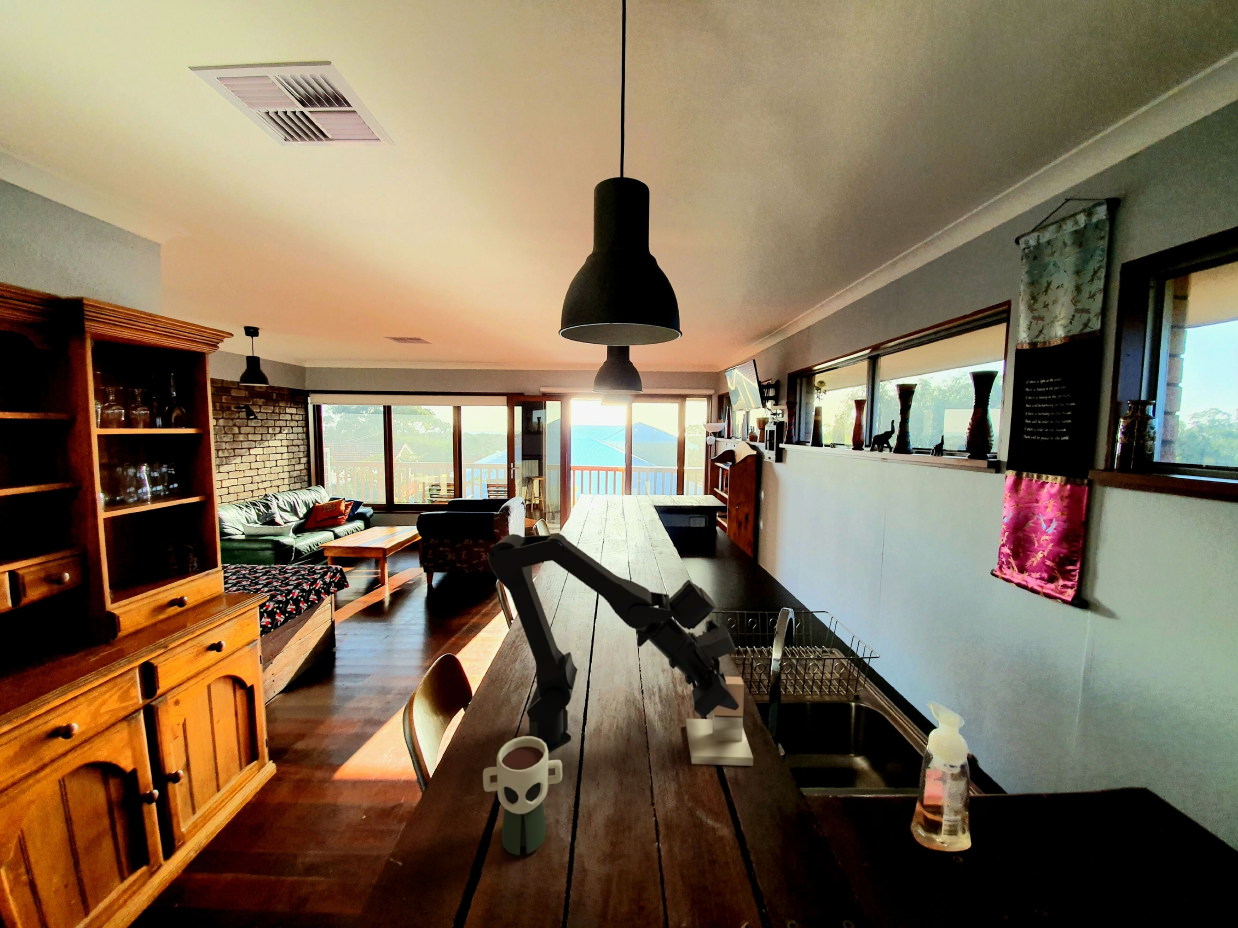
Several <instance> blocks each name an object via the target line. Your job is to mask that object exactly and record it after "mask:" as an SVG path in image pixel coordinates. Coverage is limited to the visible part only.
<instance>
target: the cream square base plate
mask: <svg viewBox="0 0 1238 928" xmlns="http://www.w3.org/2000/svg"><path fill="white" fill-rule="evenodd" d="M743 719H744V715H743V716H723V715H715V713H714V710H713V711H712V718H711V719H710V718H709V719H707V718H685V727H686V728H685V729H686V735H687V740H688V747H689V748H688V749H689V752H690V753H689V754H690V760H691V765H693V764H694V765H717V766H718V765H719V766H720V765H721V766H722V765H723V766H749V767H750V766H751V767H752V766H754V756H753V754H752V750H751V747H750V745H749V742H748V739H747V735H746V733H745V729H744V725H743V723H744V721H743Z"/></svg>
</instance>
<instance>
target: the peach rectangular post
mask: <svg viewBox="0 0 1238 928" xmlns="http://www.w3.org/2000/svg"><path fill="white" fill-rule="evenodd" d="M725 679H726V684H727V687H728V690H729V692H730V694H731V695H732V696H733V698H734V699H735V700H736V702H737V703H738V705H739V708H738V709H737V710H732V709H728V708H725V707H722V706H717V707H716V708H715V709H714V713H715V715H723V716H743V717H744V700H745V699H744V697H745V695H744V693H745V688H744V687H745V684H744V682H743V678H742V677H741V676H725Z"/></svg>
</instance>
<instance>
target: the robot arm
mask: <svg viewBox="0 0 1238 928" xmlns="http://www.w3.org/2000/svg"><path fill="white" fill-rule="evenodd" d="M487 560H488V564H489V566H490V568H491V570H492V572H493V573H494V575H495V576H496V579H497V580H498V581H499V583H500V584H502V585H503V586H504V587H505V588H506V589H507V591H508V593H510V597H511V599H512V602H513V605H514V607H515V610H516V613H517V616H518V619H519V621H520V624H521V626H522V629H523V632H524V634H525V635H524V636H525V638H526V640H527V642H528V646H529V648H530V650H531V653H532V657H533V659H534V662H535V679H536V680H535V681H536V687H535V689H534V692H533V695H532V696H531V700H530V702H529V704H528V707H527V710H526V714H527V718H528V726H529V727H528V732H527V733H526V734H524V736H533V737H536V738H539V739H541V740H542V741H543V742H544V743H546V745H547V749H548V754H549V753H551V752H553V751H555V750H556V749H558V748H559V747H561V746H563V745H565V744H567V743H568V742H570V741H571V740H572V735H571V734H569V733H568V731H569V715H568V714H569V713H568V709H567V706H568V705H569V703H570V702H571V699H572V694H573V691H574V687H575V683H576V677H577V673H578V668H577V666H576V665H575V664H574V661H573V655H572V653H571V651H569V652H566V653H563V652H562V651H561V650H560V649H559V648H558V646H557V643H556V640H555V638H554V634H553V632H552V629H551V627H550V624H549V621H548V618H547V616H546V613H545V611H544V608H543V604H542V601H541V599H540V596H539V593H538V591H537V588H536V586H535V583H534V579H533V566H535V565H537V564H541V563H545V562H550V561H551V562H552V561H553V562H554V563H555V564H557V565H558V566H560V567H561V568H562V569H564V570H565V571H566V572H567V573H569V574H570V575H572V576H573V577H574V578H576V579H577V580H578V581H580V582H582V583H583V584H584V585H585V586H587V587H588V588H590V589H591V590H592V591H594V592H595V593H596V594H598V595H600V596H601V598H603V599H604V601H606V602H607V604H609V606H610V607H611V609H612V610H613V612H614V614H616V615H617V616H618V617H619V618H620V620H622V622H624V623H625V625H626V626H627V627H630V628H632V629H635V630H636V632H635V633H636V635H637V644H636V645H637V647H638V648H641V647H642V646H644V644H645V643H647V642H648V641H649V642H650V643H651V644H652V645H653V646H654V647H655V648H656V649H657V650H658V651H659V652H660V653H661V654H662V655H663V656H665V658H666V659H667V660H668V665H669V667H670V668H672V669H673V670H674V669H675V668H676V669H677V670H679V672H680V673H682V675H683V676H684V681H685V683H686V684H687V685H689V686H690V685H691V684H693V683H694V682H696V686H695V687H694V688H693V689H692V690H691V702H692V705H693V707H692V708H693V710H694V711H695V712H696V714H698V715H699V716H700V717H701V718H706V717H707V716H708V715H709V714H711V713H712V712H713V710H714V709H715V708H716V707H717V706H722V707H725V708H728V709H732V710H737V709H738V708H739V705H738V703H737V702H736V700H735V699H734V698H733V696H732V695H731V694H730V692H729V690H728V687H727V684H726V679H725V677H726V676H725V674H724V672H721V669H720V668H721V667H720V666H721V664H720V658H721V657H724V656H726V655H731V654H733V653H735V652H736V650H737V649H736V645H735V644H734V642H733V639H732V637H731V635H730V633H729V630H728V629H727V626H726V625H724V624H723V623H720V624H719V623H718V622H717V621H715V620H714V619H713V618H711V619H708V620H707V621H705V619H706V618H707V617H709V616H710V615H711V613H713V612H714V611H715V610H716V609H717V605H716V603H715V602H714V600H713V599H712V598H711V596H710V595H709V594H708V593H707V592H706V591H705V589H704V588H702V587H699V586H698V585H697V584H695V583H693V582H692V581H691V579H687V580H686V581H685V582H684V583H683V584H682V585H681V587H680V588H679V589H678V590H677V591H676V592H675V593H674V594H673V595H672V596H671V597H670V595H669V594H668V593H662V592H661V593H660V592H655V591H650V590H649V589H648V588H647V587H645V586H642V585H641V584H638V583H637V582H635V581H633V580H630V579H626V578H622V577H621V576H618V575H616V573H613V572H612V571H611V570H610V569H608V568H606V567H605V566H604V565H602V563H600V562H598V561H597V560H596V559H594V558H593V557H591V556H590V555H588V554H587V553H586V552H585V551H583V550H582V549H580V548H579V547H577V546H576V545H574V544H573V543H572V542H570V540H568V538H566V536H564V535H563V534H561V533H554V534H548V535H547V534H546V535H545V534H543V535H542V534H541V535H540V534H539V535H537V534H536V535H533V534H532V535H528V536H527V535H526V536H522V535H519V534H515V533H510V534H508V535H506V536H504V537H503V538H501V540H500V539H499V541H498V542H497V543H496V544H494V545H493V546H492V547H491V549H490V551H489V553H488V556H487ZM703 621H705V626H704V627H705V628H704V629H705V630H703V631H702V634H699V635H696V634H695V633H694V632H690V630H691V629H693V630H694V629H696V627H698V626H699V625H700V624H701V623H702V622H703ZM684 629H687V630H689V631H688V632H687V631H686V630H684Z"/></svg>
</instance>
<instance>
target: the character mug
mask: <svg viewBox="0 0 1238 928" xmlns="http://www.w3.org/2000/svg"><path fill="white" fill-rule="evenodd" d="M549 769H555V771H554V773H555V774H554V775H550V773H549ZM491 776H496V777H497V778H496V780H497V781H495V782H491ZM562 779H563V763H562V761H561V760H560V759H552V760H550V759H549V753H548V749H547V745H546V743H544V742H543V741H542V740H541V739H539V738H536V737H533V736H525V735H524V736H523V735H522V736H519V737H516V738H513V739H510V740H509V741H507V742H505V743H504V744H503V745H502V747H500V748H499V751H498V753H497V755H496V766H489V767H486V768H484V769H483V772H482V782H483V783H482V785H483V787H482V788H483V789H484V792H496V791H497V796H498V801H499V802H500V804H501V805H502V807H503V808H504V810H503V818H502V827H501V840H502V841H501V843H502V846H503V848H504V849H505V850H506V851H507V853H508V854H512V855H515V856H520V855H521V847H526V848H525V851H526V855H527V854H531V853H533V852H534V851H537V849H539V848H540V846H541V845H542V844H543V843H544V841H545V840H546V834H547V830H548V829H547V820H546V814H545V809H544V803H543V802H544V800H545V799H546V796H547V794H548V792H549V791H548V790H549V786H550V785H553V784H559V783H561V782H562Z"/></svg>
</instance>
